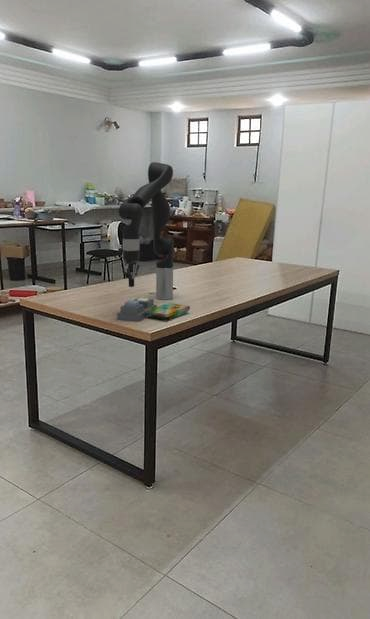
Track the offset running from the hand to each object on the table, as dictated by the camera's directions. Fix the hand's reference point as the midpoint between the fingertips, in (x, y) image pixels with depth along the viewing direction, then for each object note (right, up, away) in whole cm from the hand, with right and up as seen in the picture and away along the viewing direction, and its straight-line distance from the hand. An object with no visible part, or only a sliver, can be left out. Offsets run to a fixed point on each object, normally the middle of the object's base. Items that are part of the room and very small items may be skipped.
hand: (131, 286), depth 216 cm
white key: (+4, -8, +15) cm, 17 cm away
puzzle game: (+16, -14, +10) cm, 23 cm away
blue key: (0, -10, +2) cm, 10 cm away
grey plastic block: (+2, -13, +10) cm, 16 cm away
